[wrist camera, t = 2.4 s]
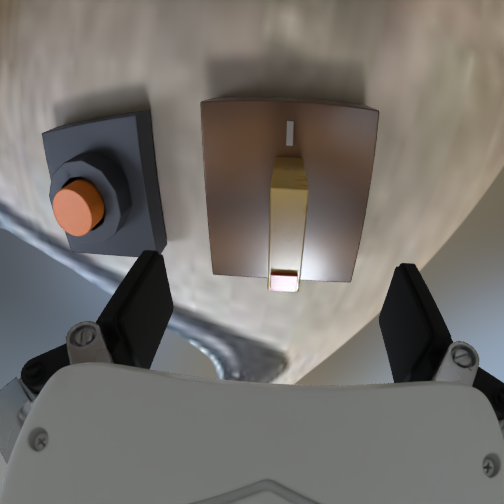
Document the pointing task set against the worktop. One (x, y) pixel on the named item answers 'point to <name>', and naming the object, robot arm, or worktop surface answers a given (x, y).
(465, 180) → the worktop surface
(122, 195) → the doorbell
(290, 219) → the lock knob
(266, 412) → the robot arm
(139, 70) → the worktop surface
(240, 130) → the plate
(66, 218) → the bell button
